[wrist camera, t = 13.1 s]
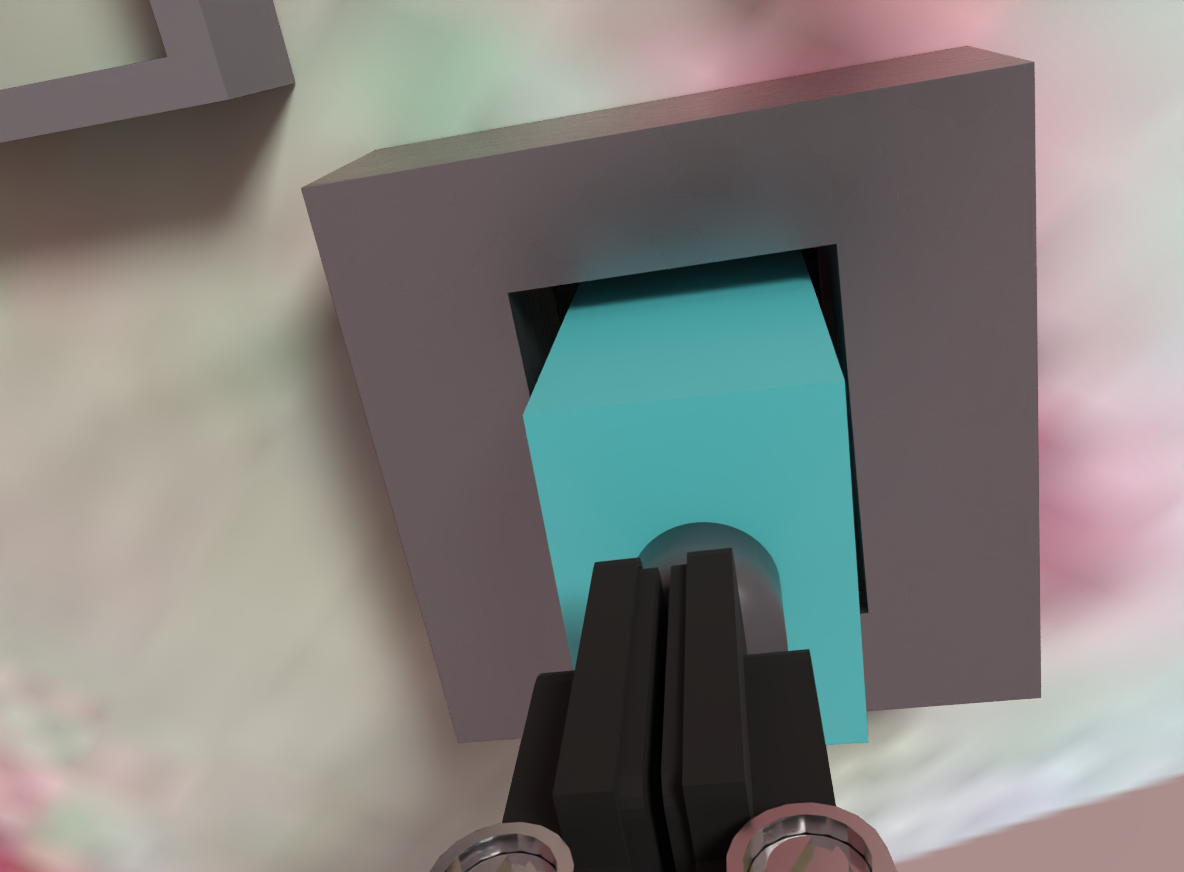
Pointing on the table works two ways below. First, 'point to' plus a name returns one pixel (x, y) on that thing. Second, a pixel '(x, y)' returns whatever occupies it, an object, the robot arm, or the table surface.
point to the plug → (708, 454)
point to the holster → (162, 71)
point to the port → (696, 236)
